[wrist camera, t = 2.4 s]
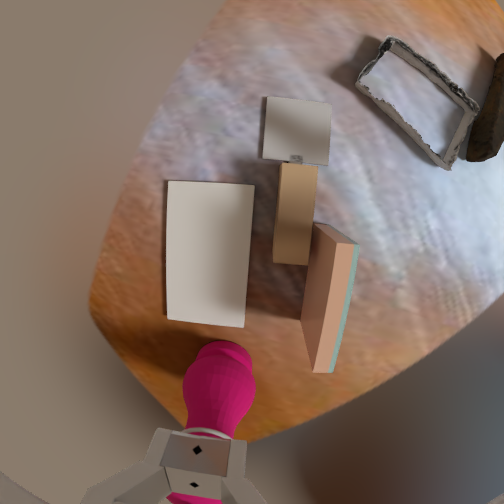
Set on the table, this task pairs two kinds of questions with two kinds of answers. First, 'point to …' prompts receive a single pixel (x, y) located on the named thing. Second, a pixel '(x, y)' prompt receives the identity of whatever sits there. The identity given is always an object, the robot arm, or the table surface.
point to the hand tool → (489, 120)
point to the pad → (208, 251)
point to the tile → (327, 294)
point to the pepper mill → (216, 397)
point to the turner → (296, 170)
